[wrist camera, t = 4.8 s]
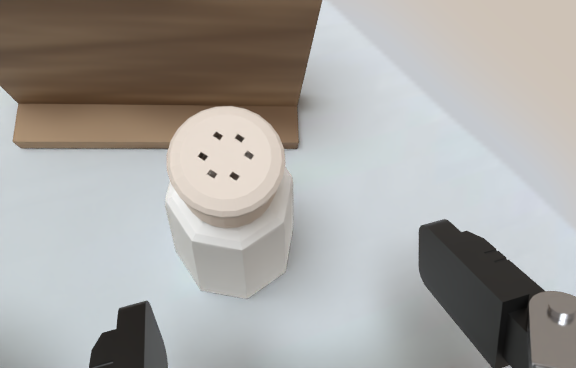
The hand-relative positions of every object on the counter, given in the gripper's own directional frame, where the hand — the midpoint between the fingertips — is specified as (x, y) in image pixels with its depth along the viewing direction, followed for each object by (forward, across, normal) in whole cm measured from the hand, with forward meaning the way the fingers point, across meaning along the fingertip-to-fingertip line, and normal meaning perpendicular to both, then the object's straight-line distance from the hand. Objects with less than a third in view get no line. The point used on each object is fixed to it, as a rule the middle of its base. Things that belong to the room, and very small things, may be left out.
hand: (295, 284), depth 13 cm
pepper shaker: (+8, -1, -3) cm, 9 cm away
